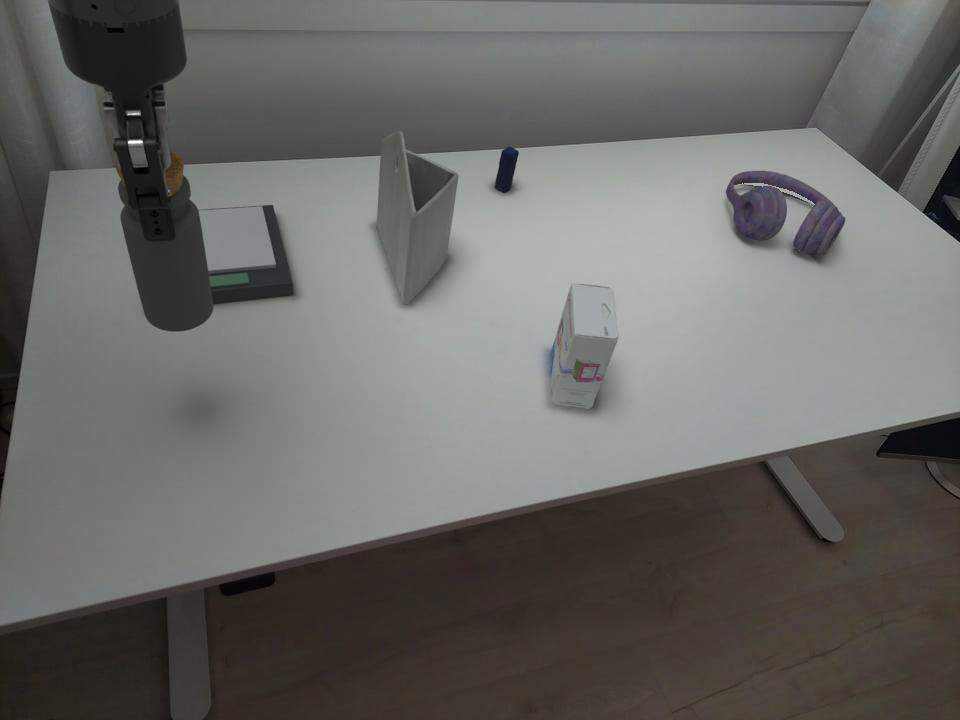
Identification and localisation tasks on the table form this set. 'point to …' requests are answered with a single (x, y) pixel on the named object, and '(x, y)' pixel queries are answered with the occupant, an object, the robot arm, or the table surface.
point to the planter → (413, 214)
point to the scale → (245, 254)
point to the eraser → (506, 169)
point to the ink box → (583, 345)
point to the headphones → (783, 211)
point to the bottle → (170, 259)
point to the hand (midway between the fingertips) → (159, 212)
